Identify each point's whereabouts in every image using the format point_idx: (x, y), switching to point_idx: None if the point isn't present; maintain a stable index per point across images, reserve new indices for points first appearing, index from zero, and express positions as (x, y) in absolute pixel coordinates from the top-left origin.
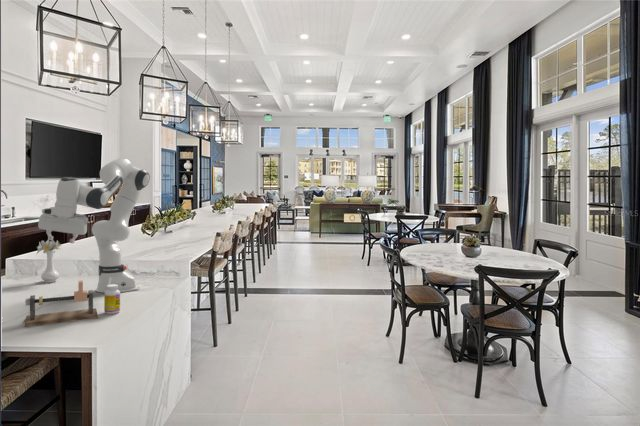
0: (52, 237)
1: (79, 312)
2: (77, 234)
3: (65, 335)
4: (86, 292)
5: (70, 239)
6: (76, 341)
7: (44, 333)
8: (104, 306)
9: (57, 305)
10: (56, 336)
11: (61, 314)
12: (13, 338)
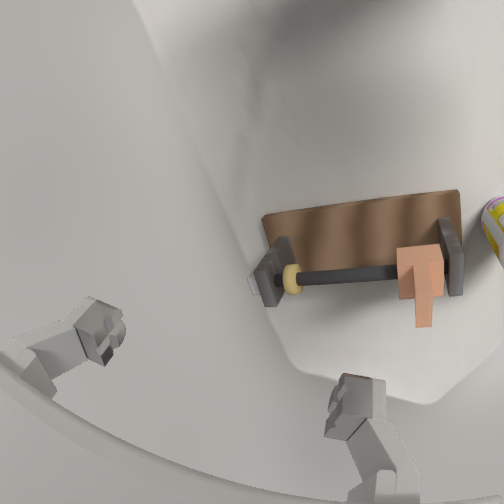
0: (104, 340)
1: (411, 228)
2: (407, 501)
3: (384, 359)
4: (441, 295)
5: (333, 437)
6: (403, 389)
7: (341, 336)
8: (486, 232)
9: (304, 68)
10: (368, 359)
11: (359, 234)
12: (289, 341)
